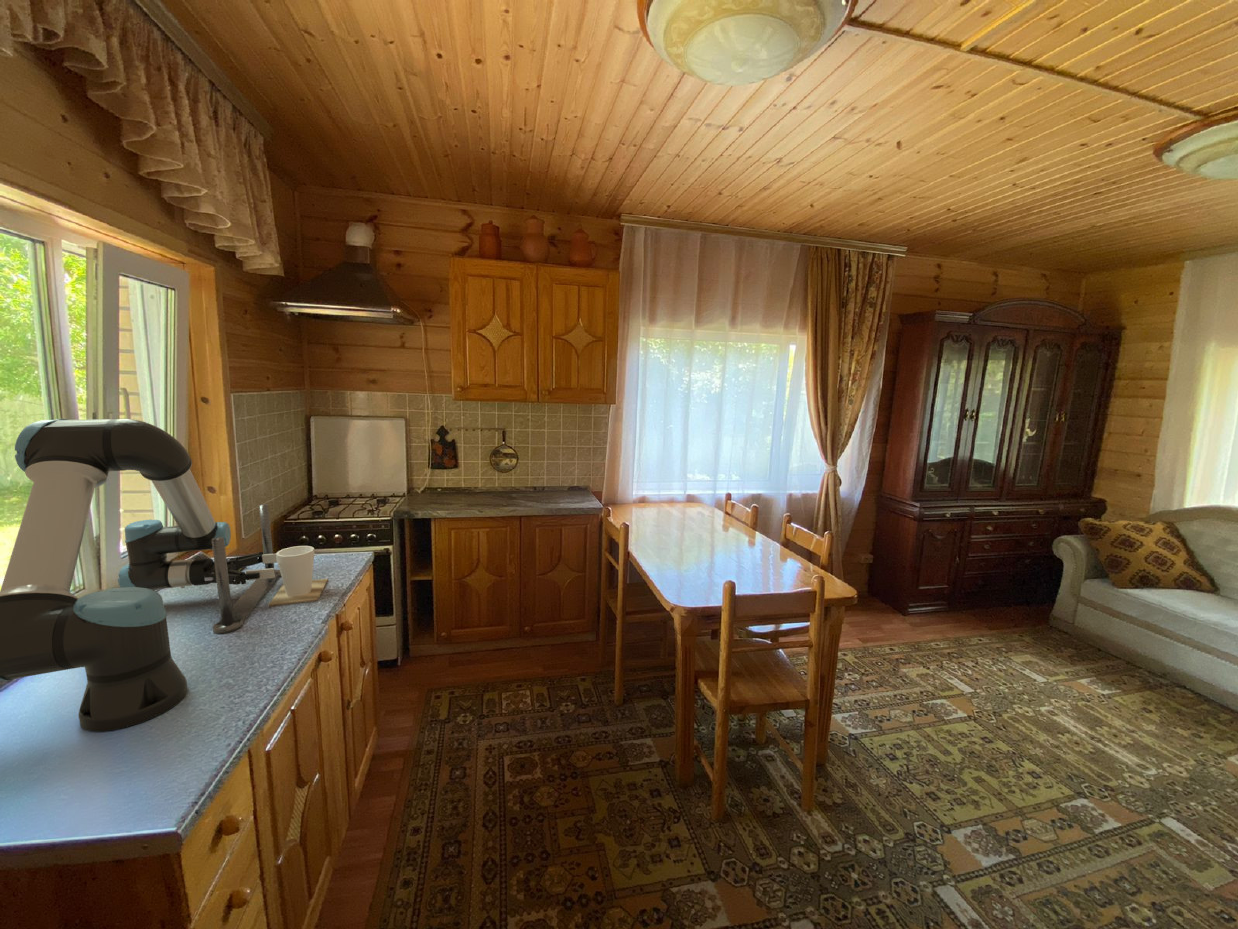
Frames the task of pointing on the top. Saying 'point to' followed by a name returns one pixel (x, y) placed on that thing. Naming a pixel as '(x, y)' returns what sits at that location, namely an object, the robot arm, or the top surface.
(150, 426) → the robot arm
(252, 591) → the rod gate
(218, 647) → the top surface
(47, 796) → the top surface
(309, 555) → the foam cup
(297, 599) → the birch pad
